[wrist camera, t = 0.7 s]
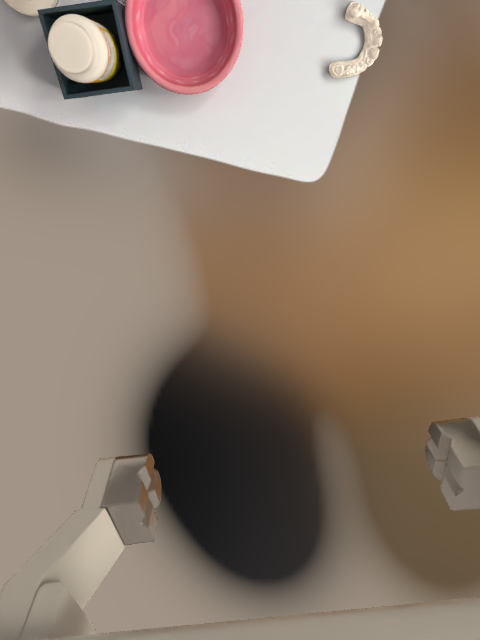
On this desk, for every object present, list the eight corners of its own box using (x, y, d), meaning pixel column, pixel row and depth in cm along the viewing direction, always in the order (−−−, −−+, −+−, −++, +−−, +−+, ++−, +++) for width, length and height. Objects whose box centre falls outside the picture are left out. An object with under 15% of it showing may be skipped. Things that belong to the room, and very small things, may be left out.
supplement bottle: (64, 54, 45) (25, 47, 36) (92, 10, 43) (58, -8, 34) (105, 94, 47) (78, 97, 38) (134, 54, 45) (113, 47, 36)
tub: (54, 16, 43) (36, 9, 39) (124, 6, 43) (114, -2, 39) (77, 97, 47) (64, 99, 43) (142, 89, 47) (134, 89, 43)
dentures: (363, 86, 48) (367, 86, 47) (325, 74, 47) (328, 74, 46) (389, 14, 44) (394, 12, 43) (348, 0, 43) (352, -2, 42)
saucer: (125, -50, 41) (118, -60, 38) (246, -39, 41) (247, -47, 39) (134, 89, 47) (129, 90, 44) (238, 97, 48) (239, 98, 45)
